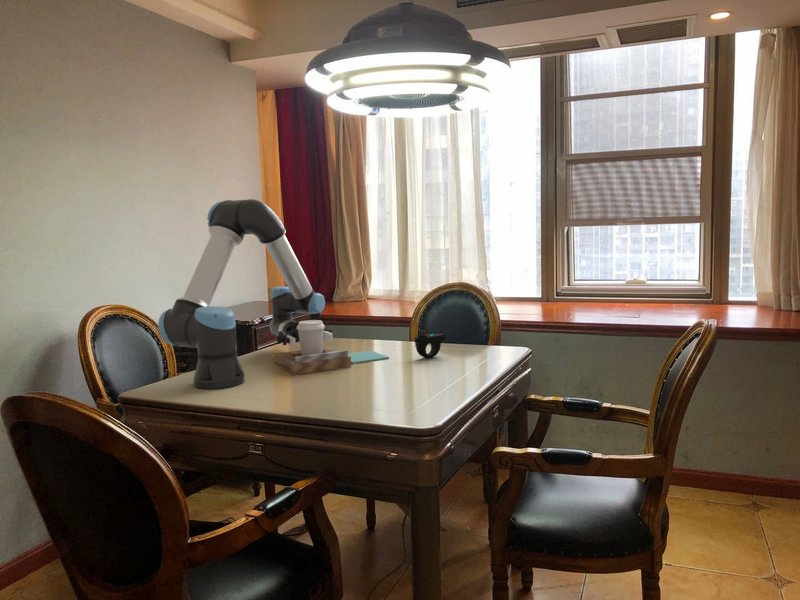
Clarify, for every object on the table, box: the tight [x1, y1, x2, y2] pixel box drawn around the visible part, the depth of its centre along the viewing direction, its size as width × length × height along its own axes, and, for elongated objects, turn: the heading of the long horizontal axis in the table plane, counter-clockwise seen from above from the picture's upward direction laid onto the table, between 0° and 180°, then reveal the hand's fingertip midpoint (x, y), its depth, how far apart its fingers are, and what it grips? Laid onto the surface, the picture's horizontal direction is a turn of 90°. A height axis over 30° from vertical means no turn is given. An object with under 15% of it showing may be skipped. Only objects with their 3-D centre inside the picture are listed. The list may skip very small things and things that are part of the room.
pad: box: [348, 350, 390, 365], centre depth 228 cm, size 14×14×1 cm
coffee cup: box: [297, 319, 326, 356], centre depth 218 cm, size 10×10×15 cm
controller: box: [414, 329, 447, 359], centre depth 224 cm, size 4×12×10 cm, turn 125°
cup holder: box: [274, 346, 352, 375], centre depth 218 cm, size 20×20×6 cm
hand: (313, 339), depth 217 cm, fingers open, 13 cm apart
